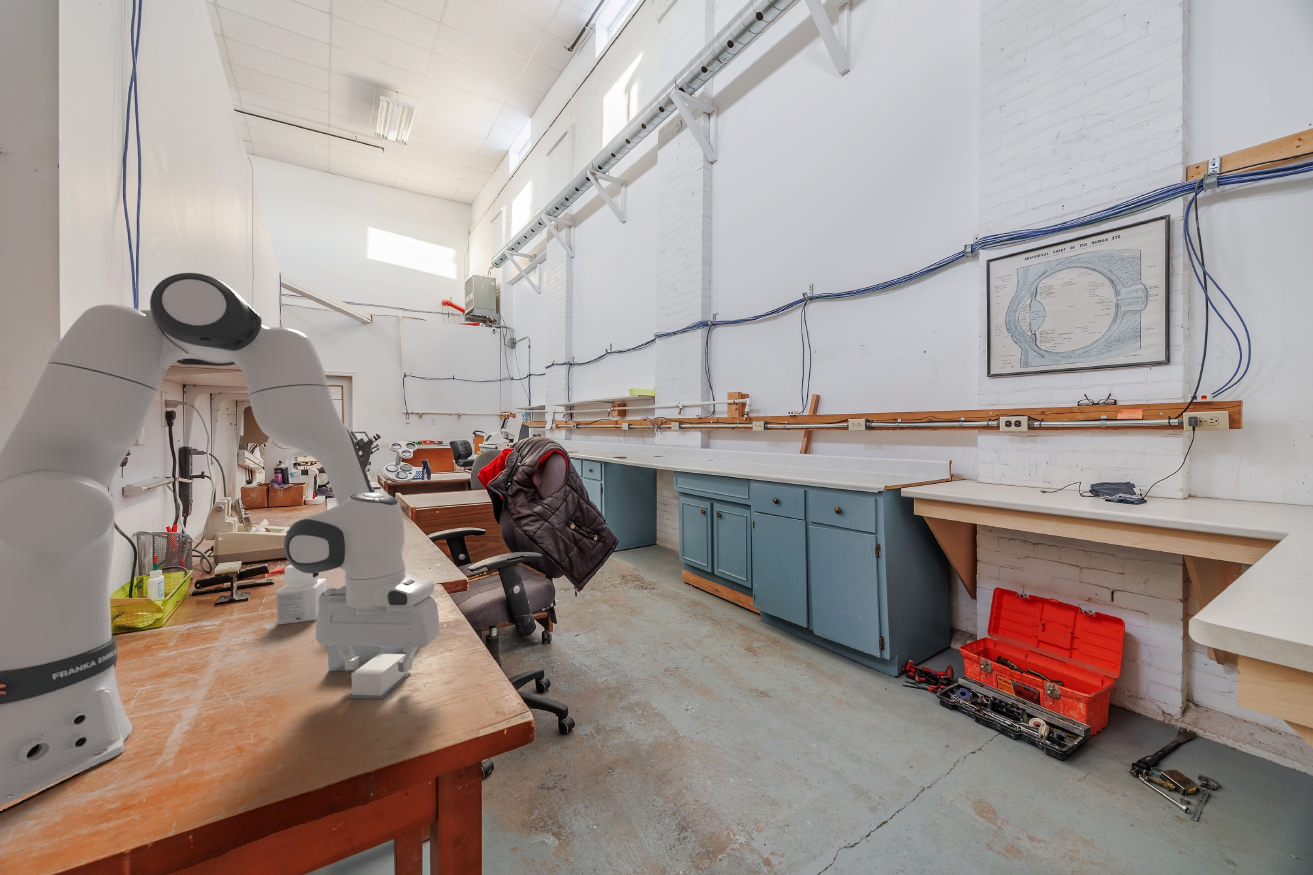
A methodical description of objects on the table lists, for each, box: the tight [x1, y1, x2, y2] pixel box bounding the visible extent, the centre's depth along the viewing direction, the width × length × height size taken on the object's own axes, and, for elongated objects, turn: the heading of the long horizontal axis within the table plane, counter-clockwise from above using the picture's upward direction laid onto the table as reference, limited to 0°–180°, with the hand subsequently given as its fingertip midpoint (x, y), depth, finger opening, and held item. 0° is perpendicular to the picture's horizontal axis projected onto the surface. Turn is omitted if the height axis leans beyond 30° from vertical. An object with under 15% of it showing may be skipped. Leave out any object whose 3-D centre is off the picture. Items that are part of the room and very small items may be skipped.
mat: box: [346, 672, 412, 700], centre depth 83 cm, size 8×6×1 cm
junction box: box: [327, 645, 406, 673], centre depth 94 cm, size 13×10×6 cm
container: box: [275, 563, 328, 625], centre depth 115 cm, size 8×8×13 cm
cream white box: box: [351, 653, 408, 696], centre depth 83 cm, size 7×5×4 cm
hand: (378, 669), depth 83 cm, fingers open, 8 cm apart
